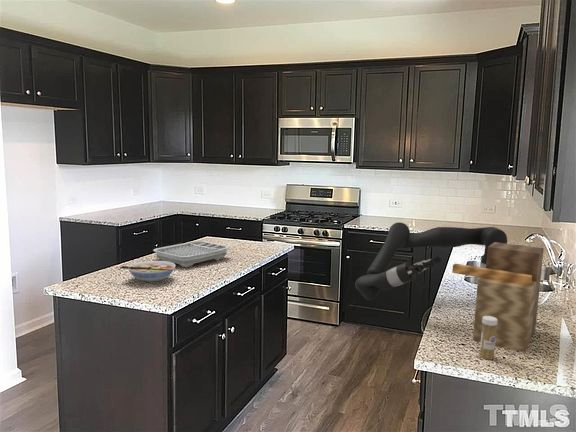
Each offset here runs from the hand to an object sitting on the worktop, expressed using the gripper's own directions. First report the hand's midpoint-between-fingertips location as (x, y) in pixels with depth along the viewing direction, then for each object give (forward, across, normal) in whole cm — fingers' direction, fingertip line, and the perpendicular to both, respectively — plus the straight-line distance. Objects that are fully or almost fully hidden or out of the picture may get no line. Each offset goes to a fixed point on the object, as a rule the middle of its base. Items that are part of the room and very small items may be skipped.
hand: (437, 260), depth 180 cm
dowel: (+15, 0, +13) cm, 20 cm away
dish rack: (-140, +14, -50) cm, 149 cm away
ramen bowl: (-126, -28, -42) cm, 136 cm away
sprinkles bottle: (+8, -18, +34) cm, 39 cm away
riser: (+9, +6, +34) cm, 36 cm away
